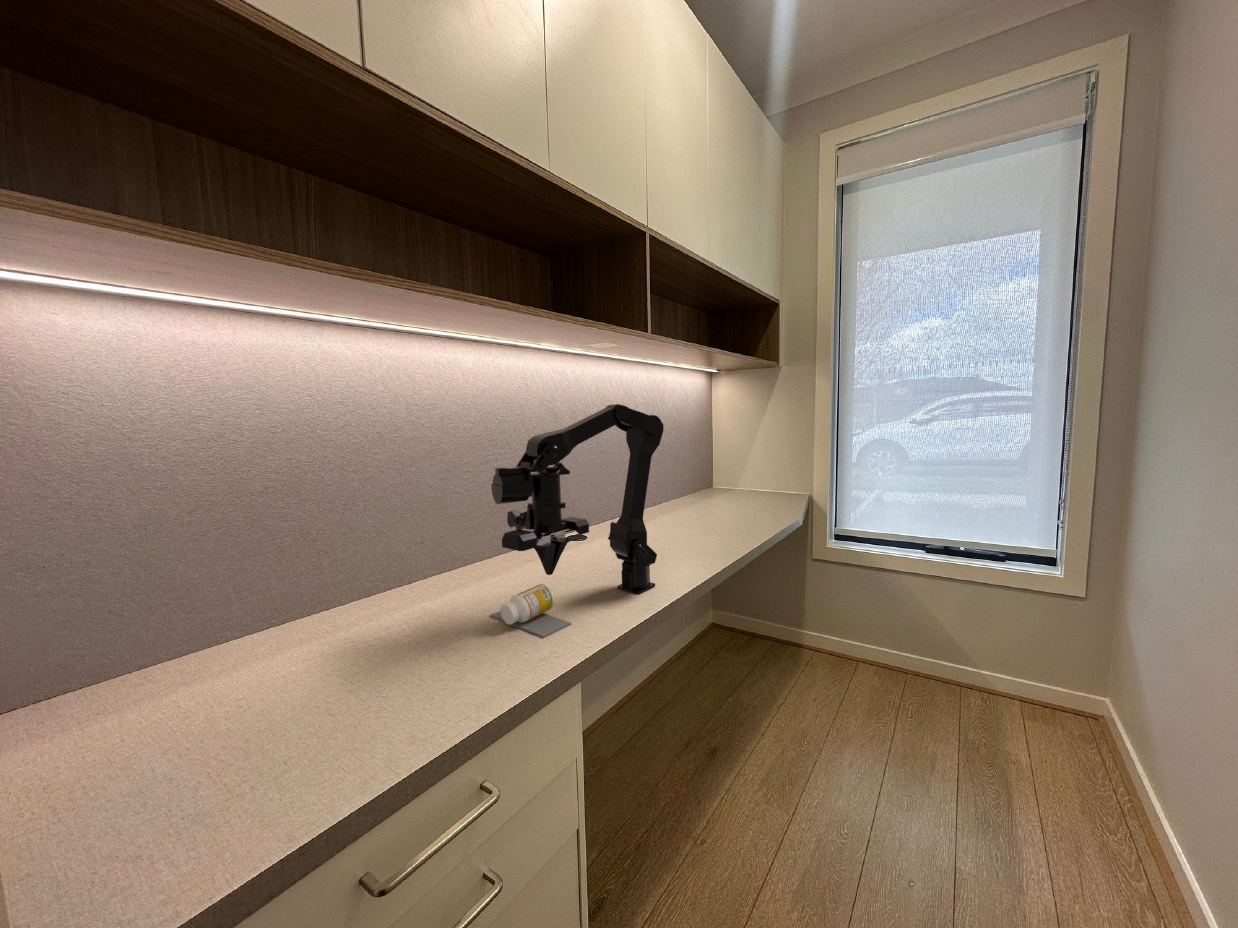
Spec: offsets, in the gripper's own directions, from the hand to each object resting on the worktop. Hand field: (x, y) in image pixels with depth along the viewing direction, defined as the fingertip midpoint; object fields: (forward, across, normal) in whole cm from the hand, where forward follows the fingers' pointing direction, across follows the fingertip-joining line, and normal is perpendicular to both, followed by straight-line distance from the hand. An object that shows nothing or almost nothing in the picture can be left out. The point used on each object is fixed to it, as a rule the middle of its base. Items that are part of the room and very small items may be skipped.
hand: (549, 574), depth 98 cm
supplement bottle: (+4, +1, 0) cm, 4 cm away
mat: (+8, +6, 0) cm, 10 cm away
